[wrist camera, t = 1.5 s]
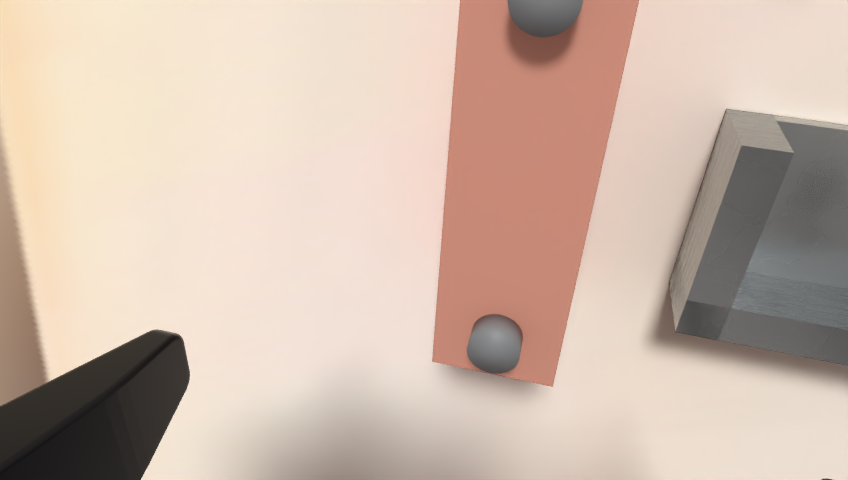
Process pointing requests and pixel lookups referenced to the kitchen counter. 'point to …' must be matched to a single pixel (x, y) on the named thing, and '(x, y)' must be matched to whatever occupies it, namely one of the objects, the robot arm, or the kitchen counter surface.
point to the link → (523, 175)
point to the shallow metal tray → (769, 239)
